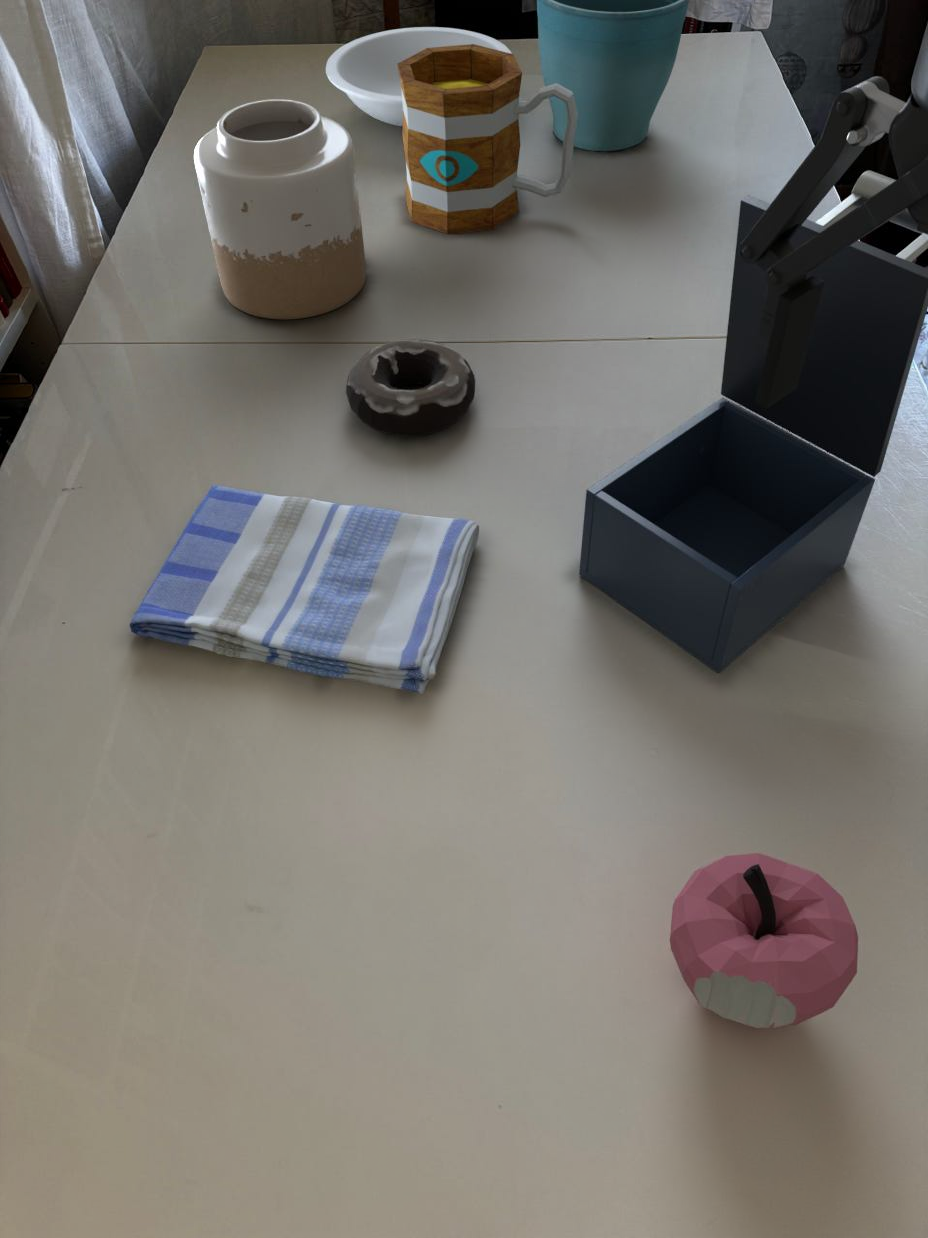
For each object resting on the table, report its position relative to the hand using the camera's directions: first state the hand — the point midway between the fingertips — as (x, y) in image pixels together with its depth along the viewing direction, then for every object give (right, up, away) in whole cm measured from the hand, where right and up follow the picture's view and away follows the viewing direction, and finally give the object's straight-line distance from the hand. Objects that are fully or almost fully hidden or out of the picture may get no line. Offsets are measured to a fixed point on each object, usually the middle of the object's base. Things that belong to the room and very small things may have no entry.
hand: (883, 454), depth 53 cm
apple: (-6, -29, +6) cm, 30 cm away
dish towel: (-33, -6, +27) cm, 43 cm away
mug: (-19, +39, +66) cm, 79 cm away
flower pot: (-4, +53, +79) cm, 95 cm away
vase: (-40, +27, +57) cm, 74 cm away
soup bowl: (-27, +58, +84) cm, 105 cm away
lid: (+2, +10, +17) cm, 20 cm away
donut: (-26, +11, +42) cm, 51 cm away
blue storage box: (-2, -5, +27) cm, 28 cm away
